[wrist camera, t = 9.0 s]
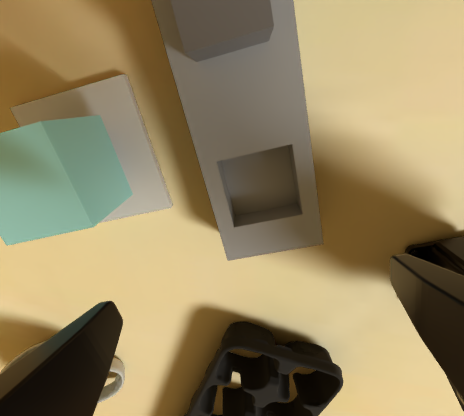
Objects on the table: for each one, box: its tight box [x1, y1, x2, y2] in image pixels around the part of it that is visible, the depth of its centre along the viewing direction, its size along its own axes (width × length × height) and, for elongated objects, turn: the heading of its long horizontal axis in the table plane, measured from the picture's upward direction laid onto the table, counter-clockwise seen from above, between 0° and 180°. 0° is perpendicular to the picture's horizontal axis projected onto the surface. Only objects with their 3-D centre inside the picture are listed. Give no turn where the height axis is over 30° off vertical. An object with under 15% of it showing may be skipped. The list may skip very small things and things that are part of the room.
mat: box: [10, 74, 173, 223], centre depth 20 cm, size 10×9×1 cm
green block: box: [0, 115, 133, 245], centre depth 16 cm, size 6×6×7 cm
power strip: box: [151, 0, 323, 261], centre depth 15 cm, size 20×7×6 cm, turn 14°
